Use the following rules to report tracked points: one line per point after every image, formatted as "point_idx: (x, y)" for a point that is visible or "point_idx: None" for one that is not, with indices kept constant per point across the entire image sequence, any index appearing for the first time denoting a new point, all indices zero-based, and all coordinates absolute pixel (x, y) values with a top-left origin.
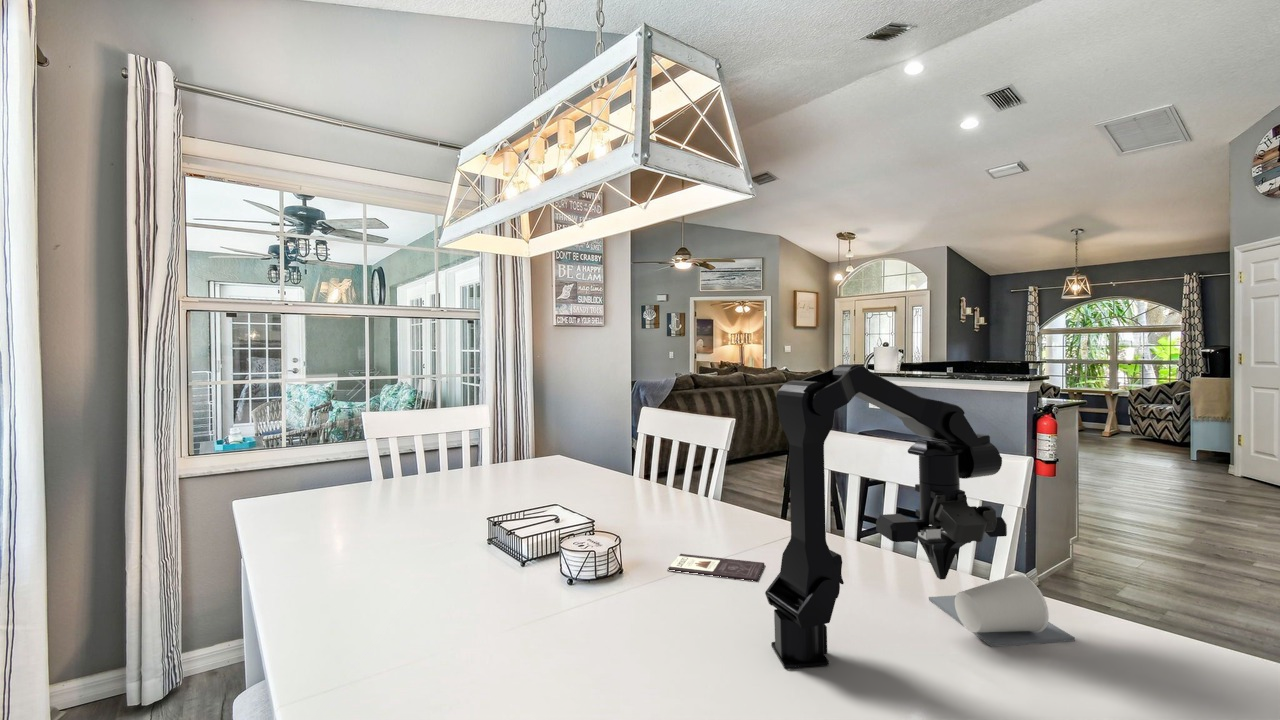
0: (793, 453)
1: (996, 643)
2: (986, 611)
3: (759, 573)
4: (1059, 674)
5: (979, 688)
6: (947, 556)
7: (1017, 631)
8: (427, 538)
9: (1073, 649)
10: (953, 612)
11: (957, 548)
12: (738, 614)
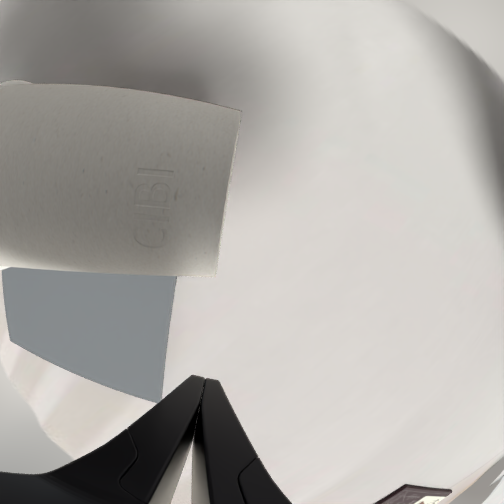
0: None
1: None
2: (208, 103)
3: (385, 500)
4: (176, 7)
5: (390, 36)
6: (166, 465)
7: None
8: (497, 495)
9: None
10: (157, 323)
11: (59, 480)
12: (500, 400)
